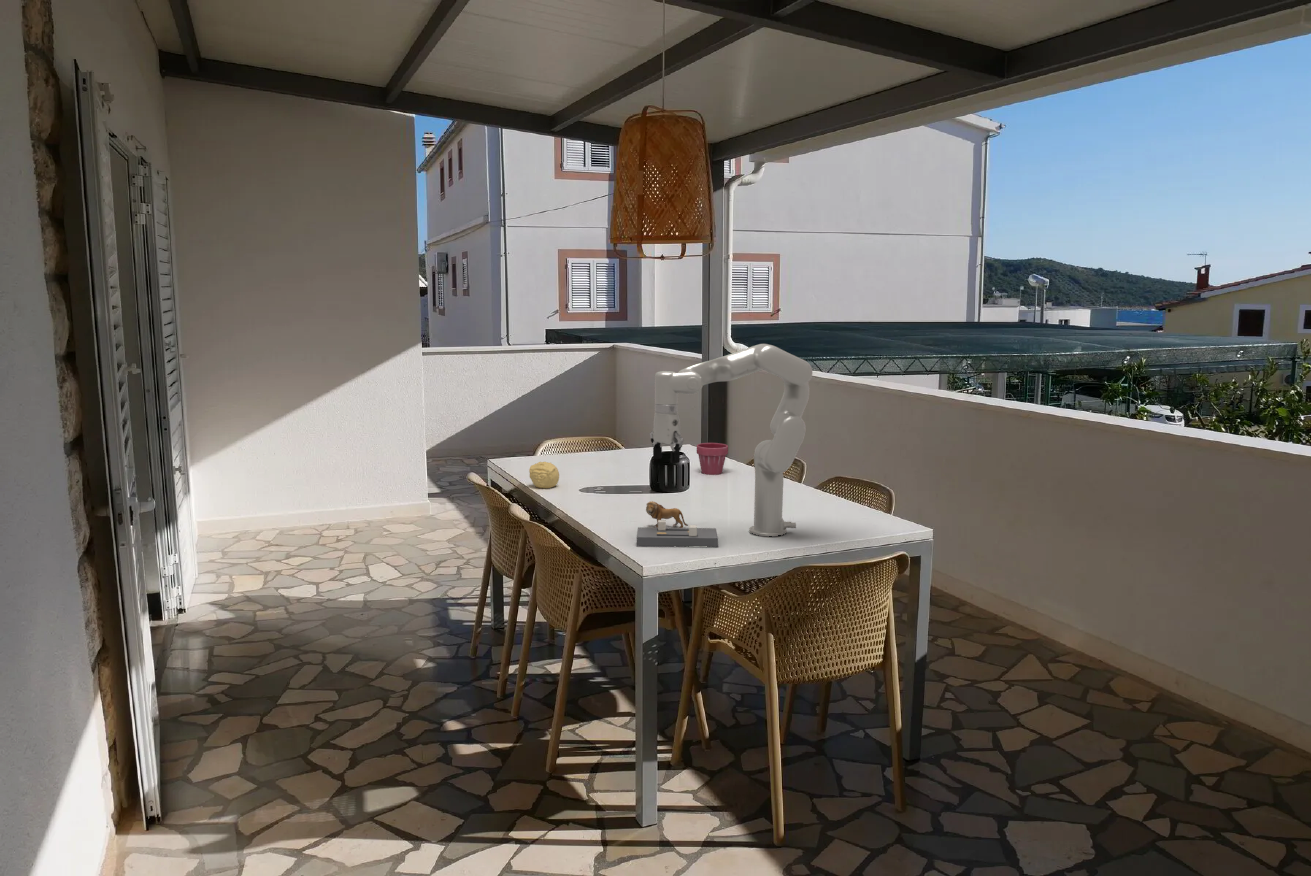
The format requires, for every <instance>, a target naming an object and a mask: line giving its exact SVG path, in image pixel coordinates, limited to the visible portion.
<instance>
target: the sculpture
mask: <svg viewBox="0 0 1311 876" xmlns="http://www.w3.org/2000/svg"><path fill="white" fill-rule="evenodd" d="M528 470H529V471H528V472H529V479H530V480H531V482H532V485H533V486H534V487H536V488H537V489H551V488H554V487H556V486H557V485H558V482H559V480H560V471H559V469H558V467H557V466H556V465H554V464H553V463H552V462H547V461H539V462H537V463H535V464H532V465H530V467H529V469H528Z"/></svg>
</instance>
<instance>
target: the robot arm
mask: <svg viewBox="0 0 1311 876" xmlns="http://www.w3.org/2000/svg"><path fill="white" fill-rule="evenodd" d="M762 371H765V372H767V373H770V374H771V375H773V376H776V377H778V378H779V379H781V380H782V382H783V387H784V388H783V389H784V390H783V394H782V397H781V399H780V402H779V404H778V406H777V409H776V410H775V412H774V415H773V416H772V418H771V421H770V423H769V424H770V425H769V429H770V432H771V434H772V435H773V438H772V439H765V440H762V441H760V442H759V443H758V444H757V445H756V446H755V448H754V453H753V464H754V501H753V502H754V505H753V507H754V508H753V525H752V526H750V527H749V529H748V532H749V533H750V534H752V533H753V534H752V535H754V534H756V535H755V536H758V535H759V536H758V537H769V536H772V537H779V536H778V535H781V536H784V535H786V534H787V529H796V528H797V522H792V521H785V520H784V519H783V505H784V504H783V502H784V501H783V500H784V472H786V471H787V470H788V469H790V467H791V466H792V464H793V463H794V461H795V459H796V456H797V454H798V452H799V450H800V447H802V446H801V445H802V444H803V442H804V439H805V436H806V432H807V430H806V429H807V426H806V423H805V421H804V419H803V418H802V417H803V414H804V412H805V409H806V407H807V404H808V402H809V398H810V384H809V382H810V381H811V380H812V377H813V367H812V366H811V364H810V363H809V362H808V361H806V360H805V359H802V358H800V357H798V356H796V355H794V354H791V353H789V352H787V351H785V350H784V349H781V348H779V347H778V346H775V345H772V344H768V343H759V344H756V345H752V346H750V347H747V348H744V349H741V350H739V351H735V352H732V353H729V354H727V355H724V356H719V357H717V358H714V359H710V360H706V361H703V362H700V363H696V364H694V365H691V366H688V367H685V368H682V369H680V370H679V371H678V372H675V371H672V370H670V371H669V370H662V371H657V372H655V375H654V416H653V423H652V424H653V427H652V431H650V432H649V438H650V442H651V446H652V449H653V450H652V455H653V456H652V459H653V460H659V459H662V458H663V448H662V447H663V446H662V445H667V446H668V445H669V446H670V449H671V450H670V464H679V463H680V451H681V450H682V448H683V444H684V441H685V440H684V438H683V436H682V427H681V426H682V425H681V419H680V415H679V410H678V409H679V394H685V395H695V394H698V393H699V392H700V391H701V390H702V389H703V386H705V385H709V384H712V383H717V382H731V381H735V380H738V379H740V378H744V377H746V376H749V375H752V374H755V373H759V372H762ZM785 533H786V534H785ZM783 534H784V535H783Z"/></svg>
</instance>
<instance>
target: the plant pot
mask: <svg viewBox="0 0 1311 876" xmlns="http://www.w3.org/2000/svg"><path fill="white" fill-rule="evenodd" d="M696 454H697V455H698V461H699V465H700V471H701V474H703V475H707V476H708V475H709V476H718V475H722V473H723V470H724V466H725V462H726V456H727V455H728V454H729V445H728V444H725V443H721V442H719V443H718V442H702V443H698V444H697V445H696Z"/></svg>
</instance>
